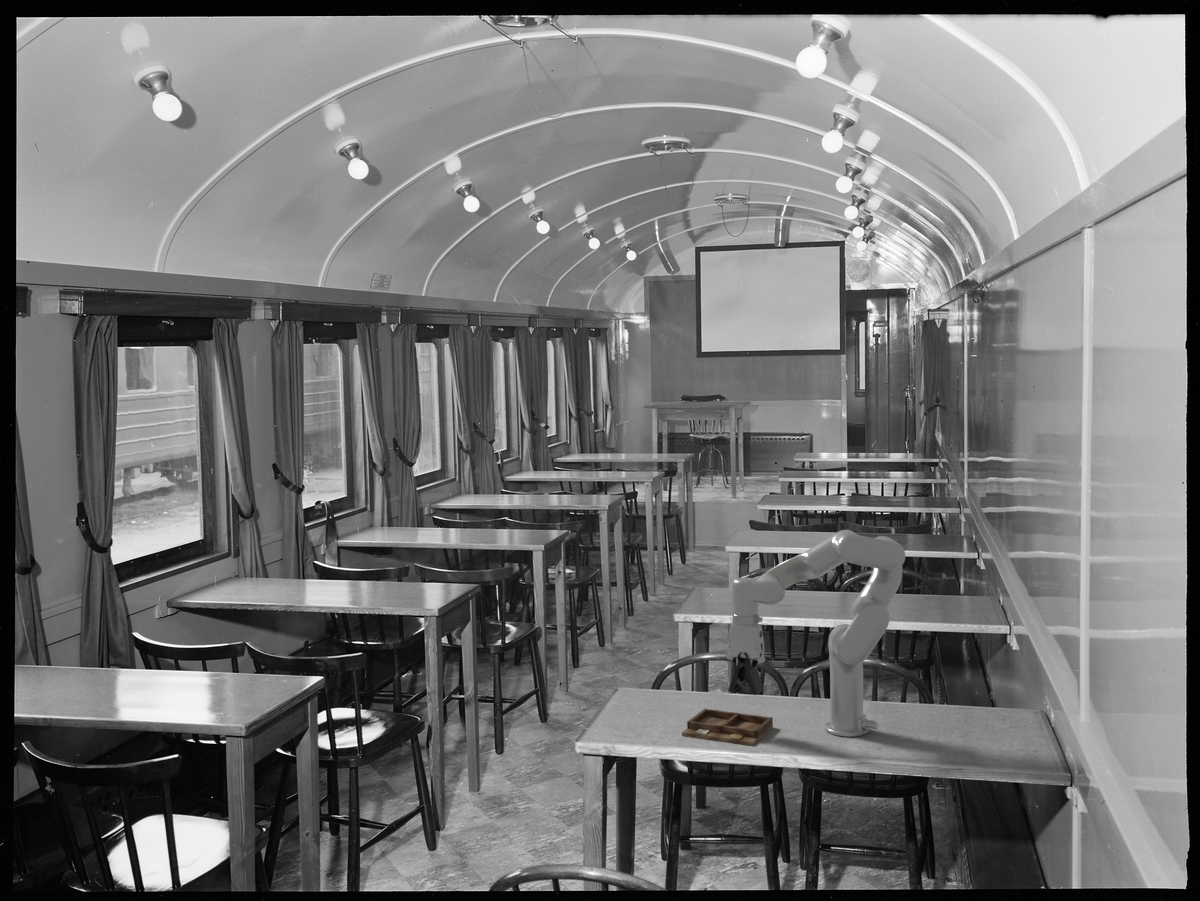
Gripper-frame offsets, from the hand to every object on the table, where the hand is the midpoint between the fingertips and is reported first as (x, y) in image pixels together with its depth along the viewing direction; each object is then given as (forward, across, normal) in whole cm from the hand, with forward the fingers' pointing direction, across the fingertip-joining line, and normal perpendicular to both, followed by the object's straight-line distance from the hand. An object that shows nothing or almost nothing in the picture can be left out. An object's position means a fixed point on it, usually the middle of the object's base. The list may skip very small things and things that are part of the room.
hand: (745, 680), depth 318 cm
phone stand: (+3, 0, 0) cm, 3 cm away
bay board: (+16, +5, +2) cm, 16 cm away
